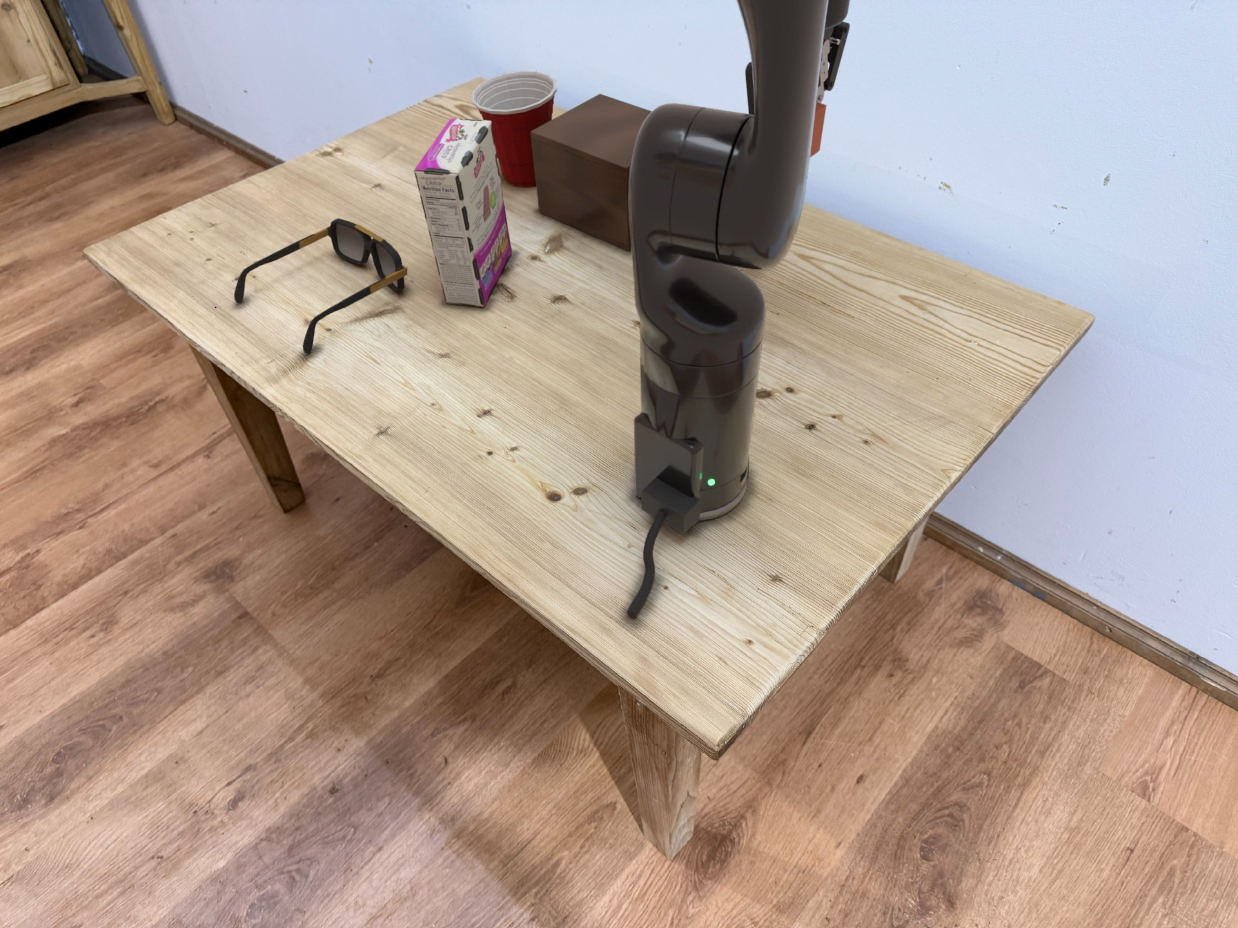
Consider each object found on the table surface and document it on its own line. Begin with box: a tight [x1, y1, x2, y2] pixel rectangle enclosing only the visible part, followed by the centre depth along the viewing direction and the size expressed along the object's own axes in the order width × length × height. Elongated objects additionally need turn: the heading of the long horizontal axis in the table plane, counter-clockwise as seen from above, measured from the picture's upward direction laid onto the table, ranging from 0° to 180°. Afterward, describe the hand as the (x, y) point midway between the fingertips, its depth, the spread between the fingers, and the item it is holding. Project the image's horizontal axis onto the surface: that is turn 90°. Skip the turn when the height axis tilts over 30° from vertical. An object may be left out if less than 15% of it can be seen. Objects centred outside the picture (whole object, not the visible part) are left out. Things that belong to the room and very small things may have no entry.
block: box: [810, 102, 827, 158], centre depth 82 cm, size 5×5×5 cm
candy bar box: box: [413, 117, 513, 308], centre depth 92 cm, size 11×5×16 cm, turn 168°
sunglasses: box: [233, 218, 408, 355], centre depth 94 cm, size 14×15×5 cm
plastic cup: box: [471, 70, 558, 188], centre depth 109 cm, size 11×11×12 cm
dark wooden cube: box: [531, 93, 653, 252], centre depth 103 cm, size 15×13×11 cm
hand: (787, 149), depth 83 cm, fingers closed on block, 4 cm apart
